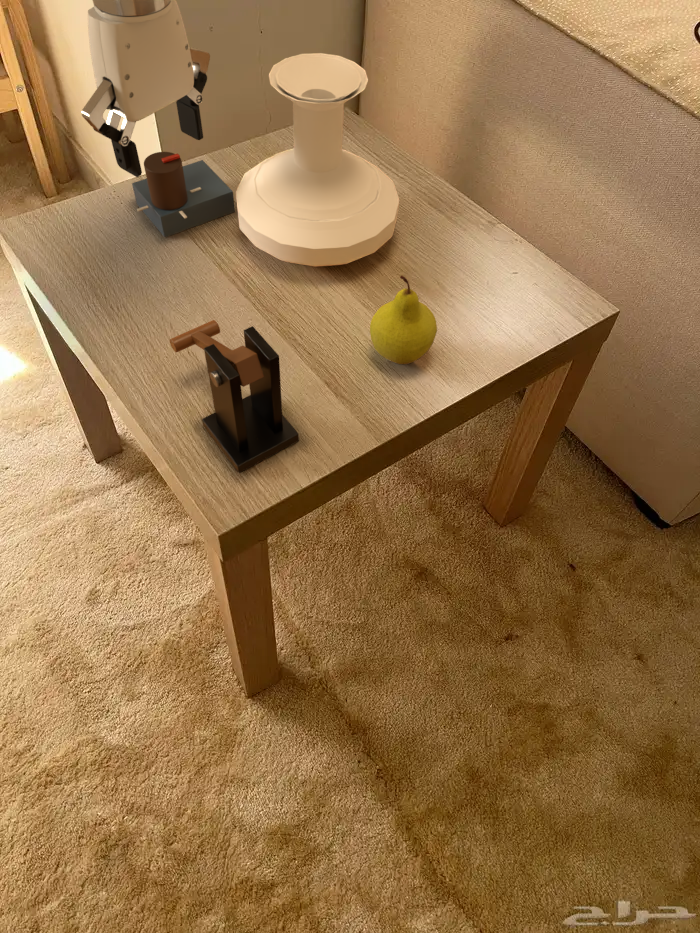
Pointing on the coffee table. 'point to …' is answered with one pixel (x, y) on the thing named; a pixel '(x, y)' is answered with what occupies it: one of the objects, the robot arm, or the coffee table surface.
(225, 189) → the panel
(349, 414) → the coffee table surface
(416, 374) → the coffee table surface
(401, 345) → the fruit
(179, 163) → the knob
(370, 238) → the white vase
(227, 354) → the lever
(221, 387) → the bracket
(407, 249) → the coffee table surface
